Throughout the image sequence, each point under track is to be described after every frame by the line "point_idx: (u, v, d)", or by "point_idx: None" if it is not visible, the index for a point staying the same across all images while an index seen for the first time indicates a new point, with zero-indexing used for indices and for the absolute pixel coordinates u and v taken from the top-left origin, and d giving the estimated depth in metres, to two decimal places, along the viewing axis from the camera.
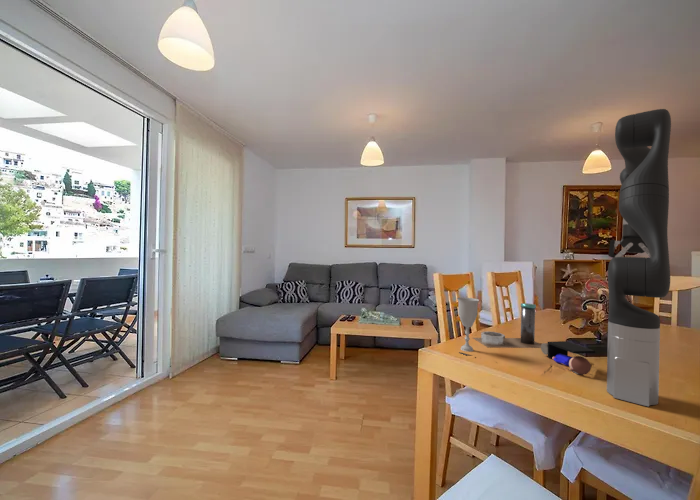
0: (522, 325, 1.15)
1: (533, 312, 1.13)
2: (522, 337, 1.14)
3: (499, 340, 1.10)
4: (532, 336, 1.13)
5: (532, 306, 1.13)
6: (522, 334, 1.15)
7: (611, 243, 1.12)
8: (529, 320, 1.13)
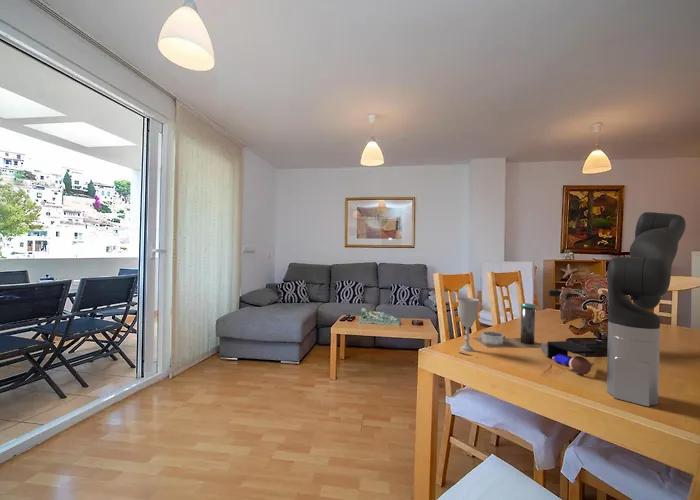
0: (522, 325, 1.15)
1: (533, 312, 1.13)
2: (522, 337, 1.14)
3: (499, 340, 1.10)
4: (532, 336, 1.13)
5: (532, 306, 1.13)
6: (522, 334, 1.15)
7: None
8: (528, 320, 1.13)
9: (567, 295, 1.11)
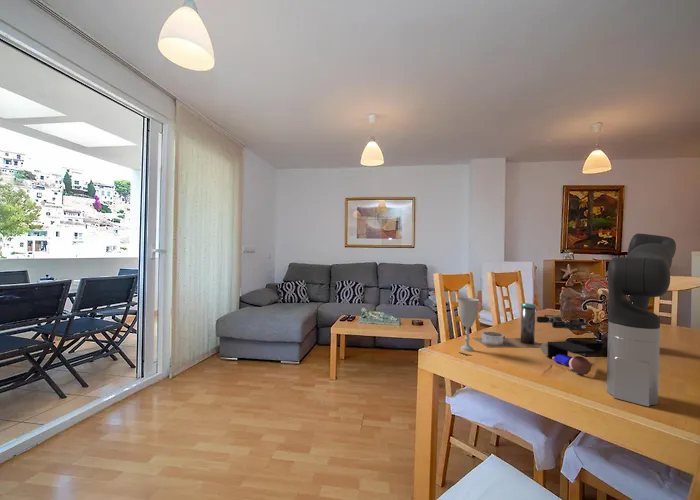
0: (522, 325, 1.15)
1: (533, 312, 1.13)
2: (522, 337, 1.14)
3: (499, 340, 1.10)
4: (532, 336, 1.13)
5: (532, 306, 1.13)
6: (522, 334, 1.15)
7: (556, 315, 1.22)
8: (529, 320, 1.13)
9: (554, 323, 1.11)
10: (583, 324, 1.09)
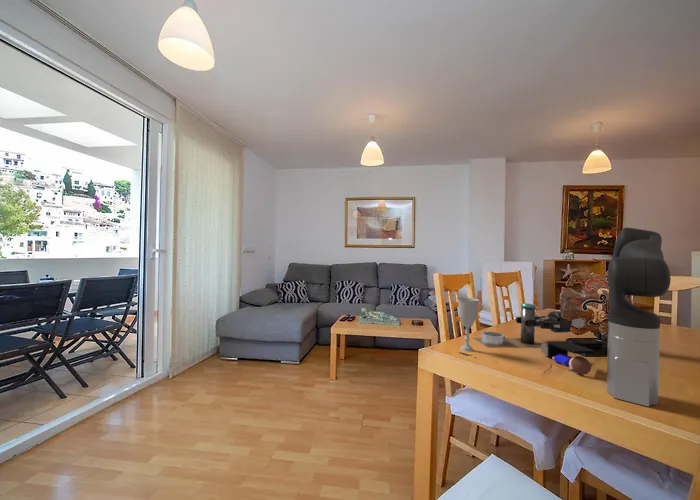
0: (522, 325, 1.15)
1: (533, 312, 1.13)
2: (522, 337, 1.14)
3: (499, 340, 1.10)
4: (532, 336, 1.13)
5: (532, 306, 1.13)
6: (522, 334, 1.14)
7: None
8: None
9: (526, 322, 1.12)
10: (556, 323, 1.09)
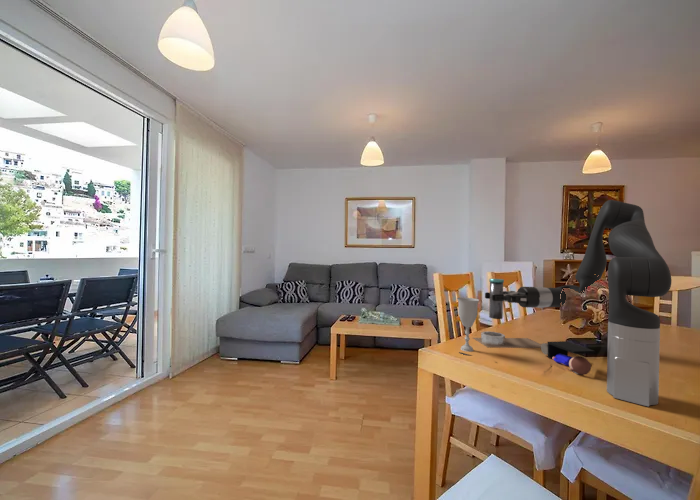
0: (490, 300, 1.14)
1: (501, 286, 1.12)
2: (490, 312, 1.14)
3: (499, 340, 1.10)
4: (500, 311, 1.12)
5: (500, 280, 1.12)
6: (490, 309, 1.14)
7: None
8: None
9: (493, 296, 1.11)
10: (522, 297, 1.08)
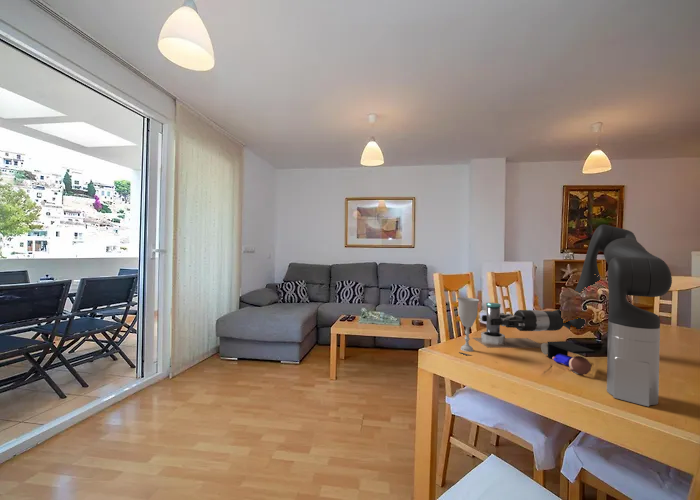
0: (487, 325, 1.14)
1: (498, 311, 1.12)
2: None
3: (499, 340, 1.10)
4: None
5: (496, 305, 1.12)
6: (487, 334, 1.14)
7: (501, 313, 1.21)
8: None
9: (491, 320, 1.11)
10: (520, 322, 1.08)
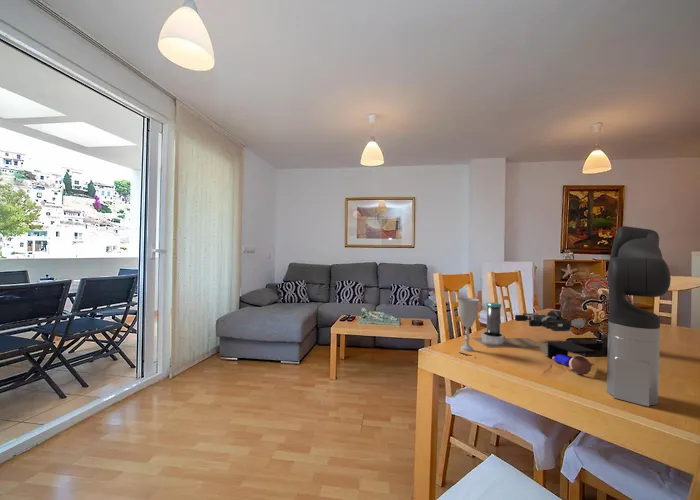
0: (488, 325, 1.14)
1: (498, 311, 1.12)
2: None
3: (499, 340, 1.10)
4: None
5: (497, 305, 1.12)
6: (487, 334, 1.14)
7: None
8: (494, 319, 1.12)
9: (531, 321, 1.10)
10: (559, 322, 1.09)
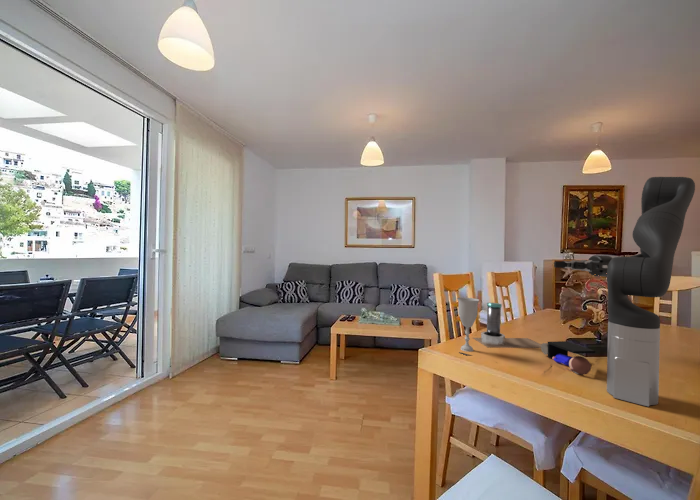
0: (488, 324, 1.14)
1: (498, 311, 1.12)
2: None
3: (499, 340, 1.10)
4: None
5: (497, 305, 1.12)
6: (488, 334, 1.14)
7: None
8: (494, 319, 1.12)
9: (574, 264, 1.06)
10: (604, 264, 1.04)
